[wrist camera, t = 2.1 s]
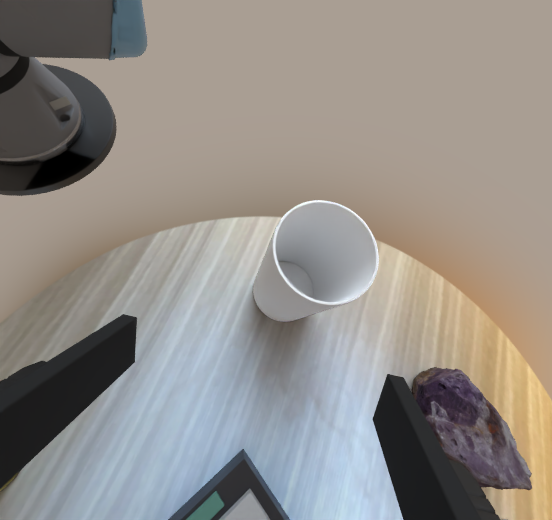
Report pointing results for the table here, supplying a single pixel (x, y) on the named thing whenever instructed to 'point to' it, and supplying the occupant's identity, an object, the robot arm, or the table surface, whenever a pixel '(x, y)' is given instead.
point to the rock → (470, 429)
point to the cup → (315, 262)
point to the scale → (233, 496)
